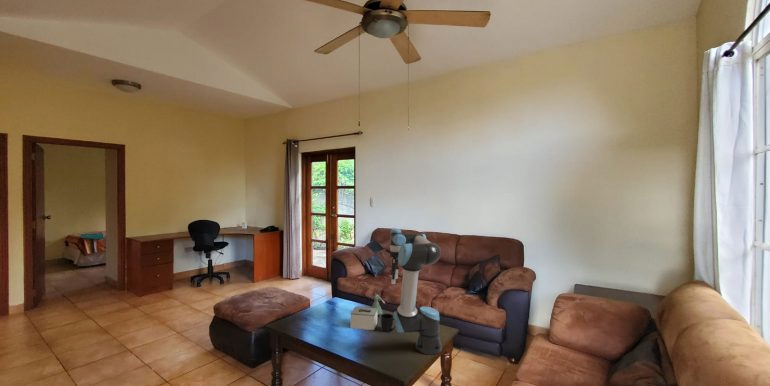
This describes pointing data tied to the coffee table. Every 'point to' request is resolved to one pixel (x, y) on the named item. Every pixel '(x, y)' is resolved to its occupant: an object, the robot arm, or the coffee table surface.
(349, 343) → the coffee table surface
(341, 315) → the coffee table surface
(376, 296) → the character figurine
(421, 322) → the robot arm
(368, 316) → the box
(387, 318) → the mug
